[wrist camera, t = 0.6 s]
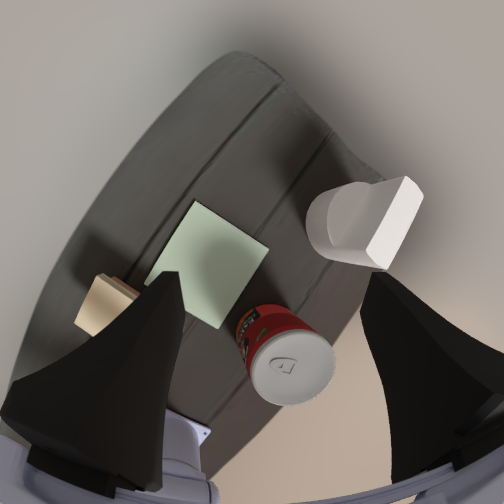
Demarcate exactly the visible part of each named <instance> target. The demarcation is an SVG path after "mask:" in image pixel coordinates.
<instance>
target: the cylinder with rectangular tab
mask: <svg viewBox="0 0 504 504" xmlns="http://www.w3.org/2000/svg"><path fill="white" fill-rule="evenodd" d="M423 197H424V196H423V193H422V192H421V191H420V189H419V188H418V186H417V185H416V184H415V183H414V182H413V181H412V180H411V179H409V178H408V177H407V176H403V177H399V178H395V179H391V180H387V181H383V182H380V183H376V184H372V185H371V184H368V183H366V182H354V183H350V184H346V185H343V186H340V187H337V188H334V189H331V190H328V191H325V192H323V193H322V194H320V195H318V196H317V197H316V198H315V199H314V201H313V202H312V203H311V205H310V207H309V209H308V211H307V216H306V232H307V235H308V239H309V241H310V243H311V245H312V246H313V248H314V249H315V250H316V251H317V252H318V253H319V254H320V255H322V256H324V257H325V258H327V259H331V260H336V261H341V262H347V263H352V264H357V265H365V266H370V267H375V268H381V269H388V267H389V266H390V264H391V262H392V260H393V258H394V256H395V254H396V252H397V251H398V249H399V247H400V245H401V243H402V241H403V239H404V237H405V235H406V233H407V231H408V229H409V227H410V225H411V223H412V221H413V219H414V217H415V215H416V213H417V211H418V208H419V206H420V204H421V202H422V200H423Z"/></svg>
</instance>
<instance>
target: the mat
mask: <svg viewBox="0 0 504 504" xmlns="http://www.w3.org/2000/svg"><path fill="white" fill-rule="evenodd" d="M268 250H269V249H268V248H266V247H265V246H263V245H262V244H260V243H259V242H257V241H256V240H254V239H253V238H251V237H250V236H248V235H247V234H245V233H244V232H242V231H241V230H239V229H238V228H236V227H235V226H233V225H232V224H230V223H229V222H227V221H226V220H224V219H222V218H221V217H219V216H218V215H216V214H215V213H213V212H212V211H210V210H209V209H207V208H206V207H204V206H203V205H201V204H200V203H198V202H196V201H195V202H194V204H193V205H192V207H191V208H190V210H189V211H188V213H187V214H186V216H185V217H184V219H183V220H182V222H181V224H180V225H179V227H178V228H177V230H176V231H175V233H174V235H173V236H172V238H171V239H170V241H169V243H168V244H167V246H166V247H165V249H164V251H163V252H162V254H161V256H160V257H159V259H158V261H157V262H156V264H155V266H154V267H153V269H152V271H151V272H150V274H149V276H148V277H147V279H146V281H145V283H144V284H145V285H146V286H148V285H149V284H150V283H151V282H152V281H153V280H154V279H155V278H156V277H157V276H158V275H159V274H160V273H161V272H162V271H179V277H180V283H181V289H182V295H183V301H184V306H185V310H186V311H188V312H189V313H191V314H193V315H194V316H196V317H198V318H199V319H201V320H203V321H205V322H206V323H208V324H210V325H212V326H213V327H215V328H217V329H218V328H219V327H220V325H221V324H222V322H223V321H224V319H225V318H226V316H227V315H228V313H229V311H230V310H231V308H232V307H233V305H234V304H235V302H236V301H237V299H238V297H239V296H240V294H241V293H242V291H243V290H244V288H245V287H246V285H247V283H248V282H249V280H250V279H251V277H252V276H253V274H254V272H255V271H256V269H257V268H258V266H259V265H260V263H261V261H262V260H263V258H264V257H265V255H266V254H267V252H268Z"/></svg>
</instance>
